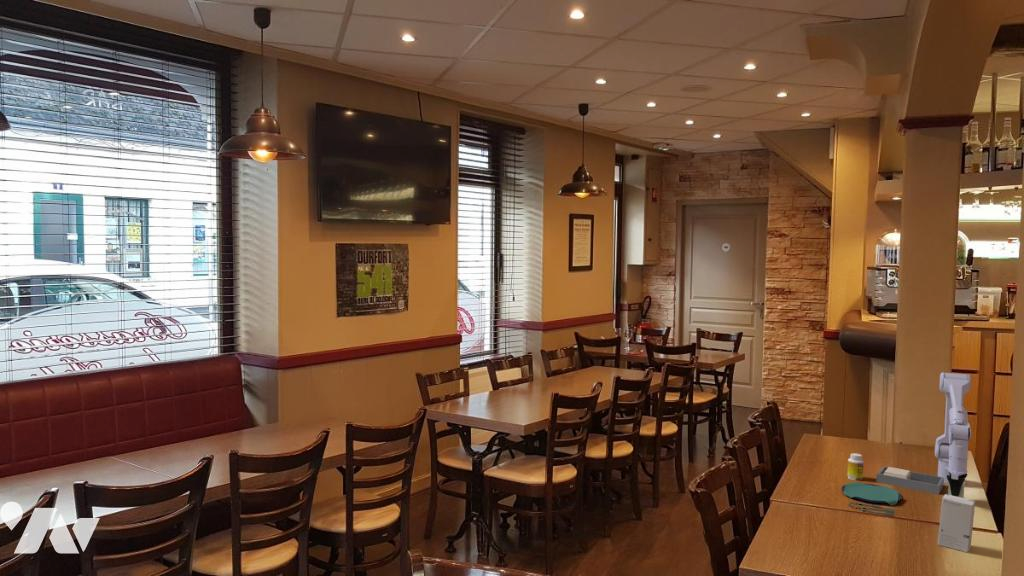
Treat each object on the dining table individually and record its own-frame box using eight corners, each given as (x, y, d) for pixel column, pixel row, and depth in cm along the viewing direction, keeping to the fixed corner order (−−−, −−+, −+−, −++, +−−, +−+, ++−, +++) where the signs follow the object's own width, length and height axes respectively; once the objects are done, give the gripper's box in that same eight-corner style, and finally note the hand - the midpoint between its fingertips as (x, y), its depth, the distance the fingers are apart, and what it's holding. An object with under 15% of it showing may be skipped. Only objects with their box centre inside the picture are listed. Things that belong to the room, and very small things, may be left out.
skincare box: (937, 545, 218) (940, 497, 217) (941, 539, 223) (943, 492, 222) (969, 553, 213) (972, 504, 212) (972, 547, 217) (975, 499, 217)
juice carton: (949, 497, 262) (950, 475, 261) (963, 500, 259) (964, 478, 259) (947, 500, 258) (948, 478, 258) (962, 503, 255) (963, 481, 255)
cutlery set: (902, 493, 266) (902, 487, 266) (900, 520, 240) (900, 514, 240) (843, 484, 276) (844, 478, 276) (835, 509, 250) (836, 503, 250)
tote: (883, 476, 286) (883, 466, 286) (943, 487, 273) (944, 477, 273) (876, 484, 276) (876, 473, 276) (938, 496, 263) (939, 485, 263)
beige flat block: (887, 476, 283) (888, 466, 283) (910, 480, 279) (910, 470, 278) (883, 481, 276) (883, 471, 276) (906, 486, 271) (906, 476, 271)
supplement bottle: (857, 483, 276) (858, 457, 276) (844, 479, 281) (845, 453, 280) (865, 481, 279) (866, 455, 279) (852, 477, 284) (853, 451, 284)
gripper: (947, 450, 266) (945, 486, 267) (942, 459, 254) (940, 496, 255) (970, 454, 262) (968, 491, 262) (965, 463, 250) (963, 501, 251)
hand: (956, 494), depth 258 cm, fingers closed on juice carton, 4 cm apart
